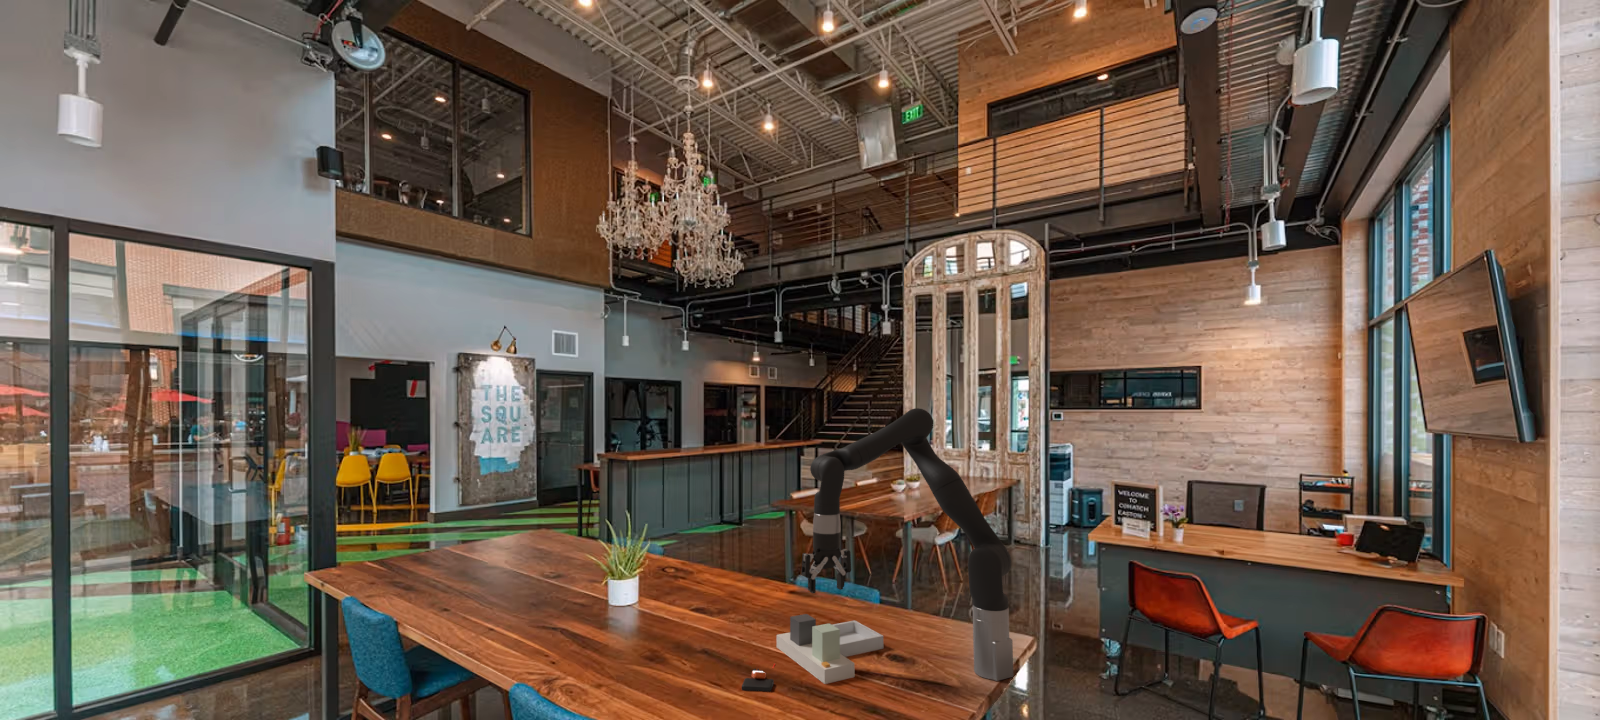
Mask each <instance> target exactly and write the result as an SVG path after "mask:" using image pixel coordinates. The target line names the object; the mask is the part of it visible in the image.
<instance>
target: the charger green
mask: <svg viewBox="0 0 1600 720" xmlns="http://www.w3.org/2000/svg"><path fill="white" fill-rule="evenodd" d="M812 655H813V656H814V657H815V658H817V659H818V660H820V661H821V662H827V661H831V660H836V659H840V629H838V628H836V627H835V626H833V624H831V623H830V622H829V623H824V624H820V625H819V624H818V625H816V626H813V627H812Z"/></svg>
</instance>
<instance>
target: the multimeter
mask: <svg viewBox="0 0 1600 720" xmlns="http://www.w3.org/2000/svg"><path fill="white" fill-rule="evenodd" d="M775 666H776V662H774V663H773V665H772V669H774V668H775ZM766 676H767V673H766V672H765V671H763V670H760V669H759V668H753V669H752V670H751V678H750V677H747V678H744V680H743V682H742V685H741V691H744V692H745V691H746V692H764V693H766V692H767V693H772V690H773V686H774V679H772V678H766Z"/></svg>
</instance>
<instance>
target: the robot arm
mask: <svg viewBox="0 0 1600 720" xmlns="http://www.w3.org/2000/svg"><path fill="white" fill-rule="evenodd" d="M933 428H934V417H933V416H932V415H931V413H930V412H928V410H925V409H923V408H919V407H915V408H912V409H909V410H908V411H907V412H905V413H904V414H902V415H901V416H899V418H897V419H896V420H893V422H891V423H889V424H888V425H886V426H884V427H883V428H881V429H879V430H877V431H875V432H873V433H870V434H869V435H867V436H865V437H862V438H860V439H858V440H856V441H853V442H852V443H850V444H847V445H846V446H844V447H841V448H839V449H835V450H831V451H829V452H825V453H823V454H820V455H818V456H817V457H815V458H814V459H813V460H812V462H811V464H810V469H809V470H810V474H811V476H812V478H814V479H816V480H817V481H819V482H820V485H819V486H820V487H819V488H820V489H819V491H817V492H815V494H814V502H813V521H812V548H813V551H812V553H807V552H803V553H802V556H801V557H802V558H801V570H800V571H801V573H800V574H801V575H802V576H803V577H805V578H806V579H807V590H808V591H809V593H811V594H816V590H817V589H816V587H817V586H816V578H817V576H818V574H819V573H821V571H822V570H827V569H835V571H836V573H837V574H836V588H837V589H838V590H840V591H841V590H843V589H844V587H845V581H846V579H845V577H846V574H848V573H851V571H852V557H851V551H850V550H849V549H847V548H843V549H841V532H842V531H841V527H842V526H841V524H842V523H841V514H840V511H841V509H840V508H841V506H840V504H841V501H840V499H841V498H840V497H841V493H842V490H843V486H844V480H845V472H846V471H854V470H857V469H859V468H862V467H864V466H865V465H868V464H870V463H872V462H873V461H875V460H877V459H879V458H880V457H881V456H883V455H884V454H885V453H887V452H888V451H889V450H891V449H892V448H894V447H896V446H898V445H900V444H901V445H902V447H903V448H904V449H905V451H906V452H907V453H908V455H909V456H910V457H911V459H912V460H913V462H914V464H916V466H917V468H918V470H919V472H920V474H921V475H922V477H923V479H924V480H925V482H926V483H927V485H928V487H929V489H930V492H931V493H932V495H933V496H934V498H935V500H936V502H937V504H938V505H939V507H940V508H941V510H942V511H943V513H945V515H946V516H947V517H949V519H951V521H953V522H954V523H955V524H956V525H957V526H958V527H959V528H960V529H961V530H962V531H963V533H965V535H966V536H967V538H968V539H969V541H970V543H971V546H972V547H973V549H972V550H971V551H970V553H969V556H968V559H967V560H968V561H967V573H968V587H969V588H968V589H969V594H970V596H971V599H972V637H973V639H972V640H973V671H974V673H975V674H976V675H977V676H979V677H981V678H984V679H987V680H988V679H989V680H994V681H996V682H998V681H1003V680H1005V679H1009V678H1012V677H1014V651H1013V649H1014V647H1013V645H1014V644H1013V639H1012V638H1011V637H1010V611H1009V605H1010V604H1009V597H1008V595H1006V594H1005V593H1004V588H1003V577H1004V576H1006V575H1007V574H1009V572H1011V568H1012V557H1011V554H1010V552H1009V550H1008V549H1007V547H1006V546H1005V545H1004V543H1003V542H1002V540H1001V539H1000V538H999V537H998V535H997V534H996V532H995V531H994V530H993V529H992V527H991V526H990V524H989V522H988V521H987V520H986V517H984V515H983V513H982V511H981V510H980V508H979V506H978V504H977V502H976V500H975V499H974V498H973V496H972V494H971V492H970V491H969V489H968V487H967V485H966V484H965V483H964V480H963V479H962V477H961V476H960V474H959V472H957V471H956V470H955V469H954V468H953V467H952V466H951V465H949V464H948V463H946V462H945V461H944V460H942V459H941V458H940V457H939V456H938V455H937V453H936V452H935V451H934V449H933V448H932V446H931V444H930V442H929V440H928V437H929V436H930V434H931V432H933ZM840 558H842V564H841V563H840V561H839V560H840ZM812 560H813V562H812ZM811 562H812V564H811Z"/></svg>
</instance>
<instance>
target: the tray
mask: <svg viewBox="0 0 1600 720" xmlns="http://www.w3.org/2000/svg"><path fill="white" fill-rule="evenodd" d="M832 625H833V626H835V627H836V628H838V629H840V654H841V655H843V656H844V657H846V658H848V657H851V656H855V655H860V654H865V653H869V652H874V651H878V650H882V649H883V650H884V635H883V634H881V633H879V632H877V631H876V630H873V629H872V628H870V627H868V626H866V625H864V624H862V623H860V622H859V621H857V620H854V619H853V620H850V621H844V622H840V623H839V622H838V623H834V624H832Z"/></svg>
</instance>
